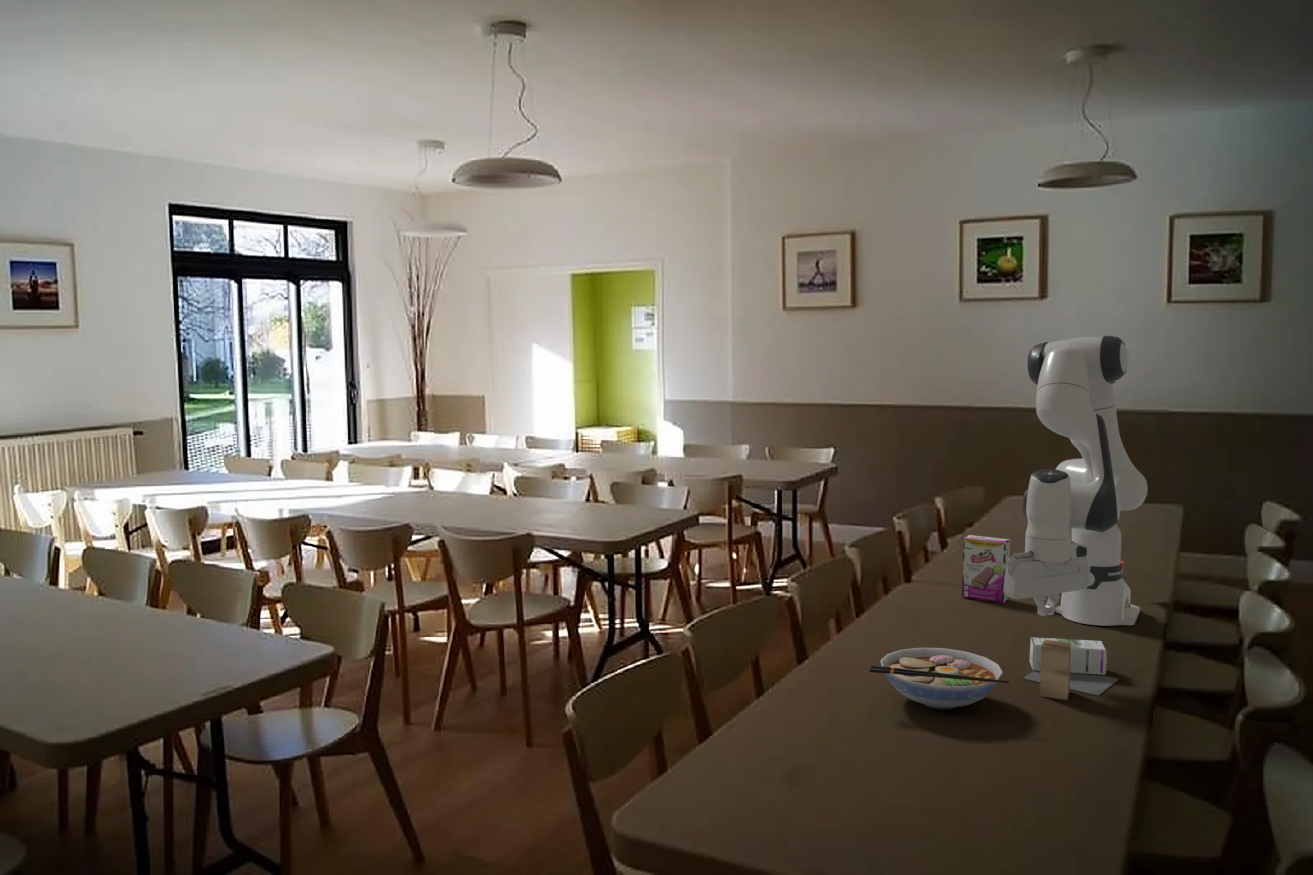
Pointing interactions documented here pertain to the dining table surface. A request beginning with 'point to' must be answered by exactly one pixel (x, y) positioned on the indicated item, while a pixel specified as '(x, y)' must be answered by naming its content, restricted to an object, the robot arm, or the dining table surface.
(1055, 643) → the oak block
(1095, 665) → the syrup box
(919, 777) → the dining table surface
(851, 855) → the dining table surface
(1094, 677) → the rubber mat
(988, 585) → the candy bar box
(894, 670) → the ramen bowl
